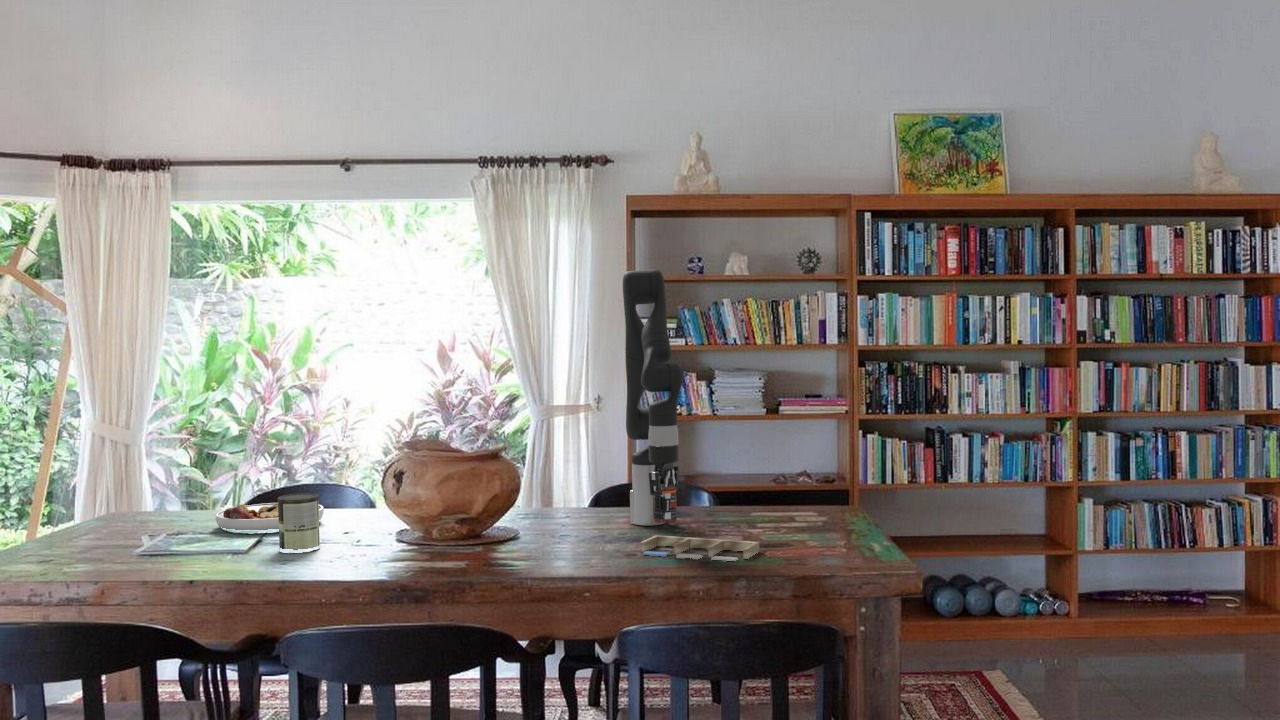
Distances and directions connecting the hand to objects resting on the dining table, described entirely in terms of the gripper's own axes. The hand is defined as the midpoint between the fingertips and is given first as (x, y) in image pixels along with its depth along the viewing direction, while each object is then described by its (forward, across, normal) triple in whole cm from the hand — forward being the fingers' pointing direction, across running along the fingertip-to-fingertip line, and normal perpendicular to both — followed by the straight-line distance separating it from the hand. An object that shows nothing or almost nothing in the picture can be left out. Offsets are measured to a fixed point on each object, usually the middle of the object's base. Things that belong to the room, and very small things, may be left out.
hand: (664, 509), depth 273 cm
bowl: (+11, +5, -124) cm, 125 cm away
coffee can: (+10, +30, -91) cm, 96 cm away
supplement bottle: (+3, 0, 0) cm, 3 cm away
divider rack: (+10, 0, +9) cm, 14 cm away
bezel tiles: (+10, +6, +9) cm, 15 cm away
